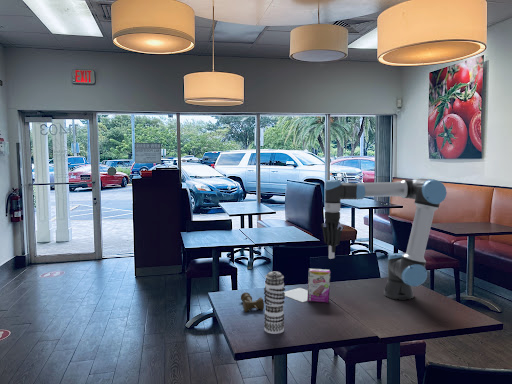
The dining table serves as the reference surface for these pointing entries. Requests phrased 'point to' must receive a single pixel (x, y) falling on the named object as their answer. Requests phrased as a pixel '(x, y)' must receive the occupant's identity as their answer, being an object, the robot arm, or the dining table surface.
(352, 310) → the dining table surface
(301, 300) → the mat
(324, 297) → the candy bar box
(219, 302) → the dining table surface
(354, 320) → the dining table surface
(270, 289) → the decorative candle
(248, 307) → the kendama
